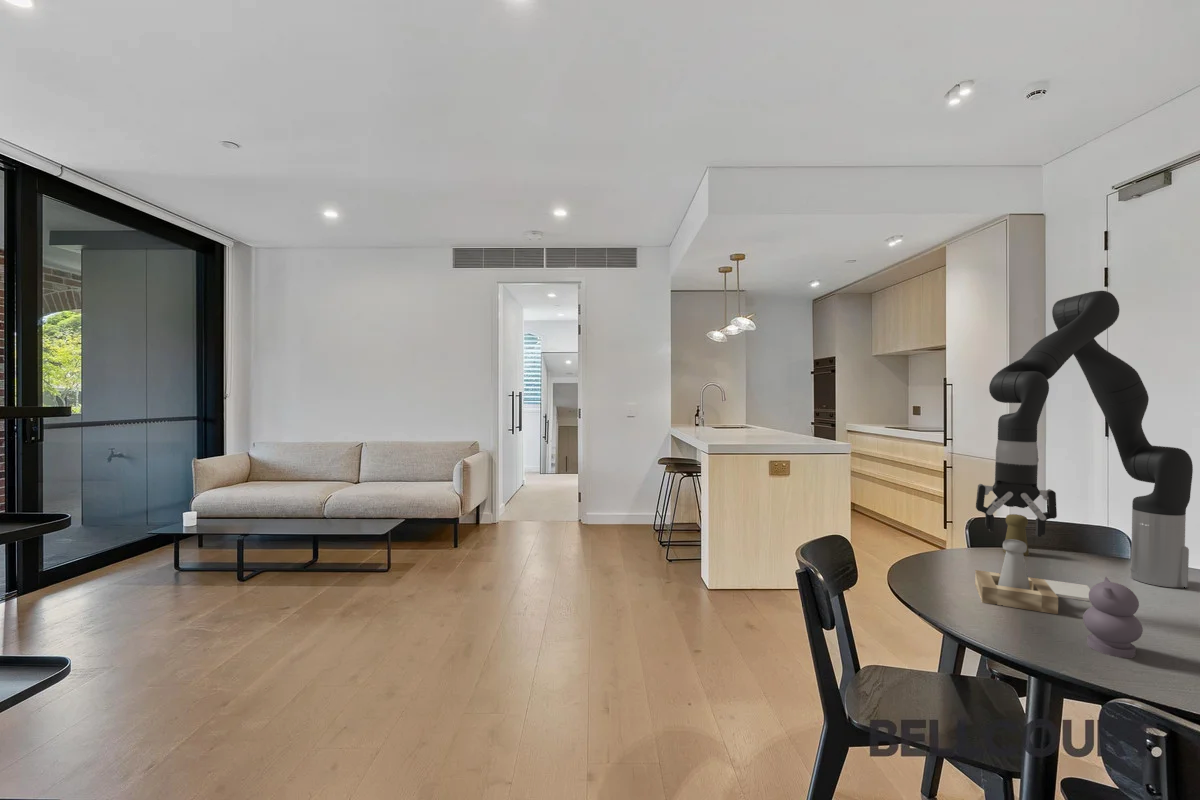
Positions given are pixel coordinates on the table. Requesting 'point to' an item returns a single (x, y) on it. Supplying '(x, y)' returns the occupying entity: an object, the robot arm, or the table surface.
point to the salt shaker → (1014, 565)
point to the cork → (1017, 529)
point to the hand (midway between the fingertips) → (1014, 533)
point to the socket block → (1016, 593)
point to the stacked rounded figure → (1112, 619)
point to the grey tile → (1069, 590)
